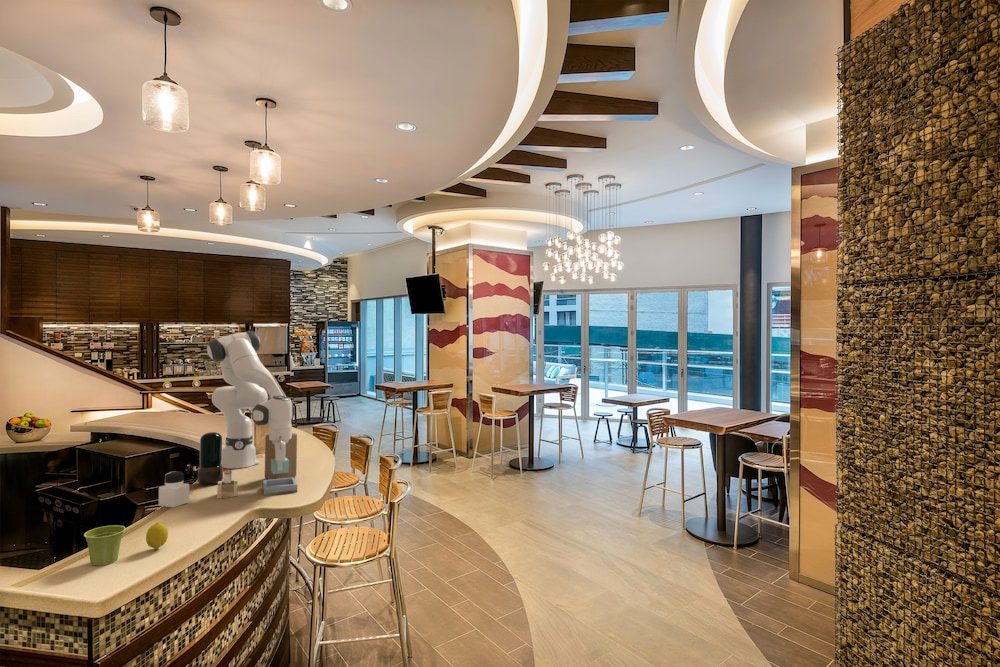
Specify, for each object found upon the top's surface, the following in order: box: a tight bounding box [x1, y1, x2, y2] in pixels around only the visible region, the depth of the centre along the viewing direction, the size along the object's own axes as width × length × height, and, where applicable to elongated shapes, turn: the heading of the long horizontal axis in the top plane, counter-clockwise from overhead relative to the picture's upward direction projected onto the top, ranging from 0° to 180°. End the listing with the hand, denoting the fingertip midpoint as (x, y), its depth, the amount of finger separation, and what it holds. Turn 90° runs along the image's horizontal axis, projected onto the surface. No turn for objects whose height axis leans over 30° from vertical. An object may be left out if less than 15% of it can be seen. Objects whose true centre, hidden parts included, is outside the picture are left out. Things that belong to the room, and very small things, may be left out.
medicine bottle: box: [158, 470, 190, 508], centre depth 197 cm, size 7×7×12 cm
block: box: [264, 432, 298, 480], centre depth 235 cm, size 10×10×20 cm
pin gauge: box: [223, 469, 233, 485], centre depth 209 cm, size 3×3×10 cm
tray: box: [262, 476, 298, 496], centre depth 217 cm, size 12×12×3 cm
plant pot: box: [83, 524, 127, 566], centre depth 147 cm, size 9×9×9 cm
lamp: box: [197, 431, 224, 486], centre depth 225 cm, size 10×10×22 cm
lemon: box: [145, 522, 169, 550], centre depth 156 cm, size 6×6×8 cm
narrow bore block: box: [271, 458, 289, 474], centre depth 217 cm, size 6×6×5 cm
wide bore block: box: [216, 479, 238, 499], centre depth 209 cm, size 7×7×5 cm
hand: (279, 467), depth 217 cm, fingers closed on narrow bore block, 6 cm apart
